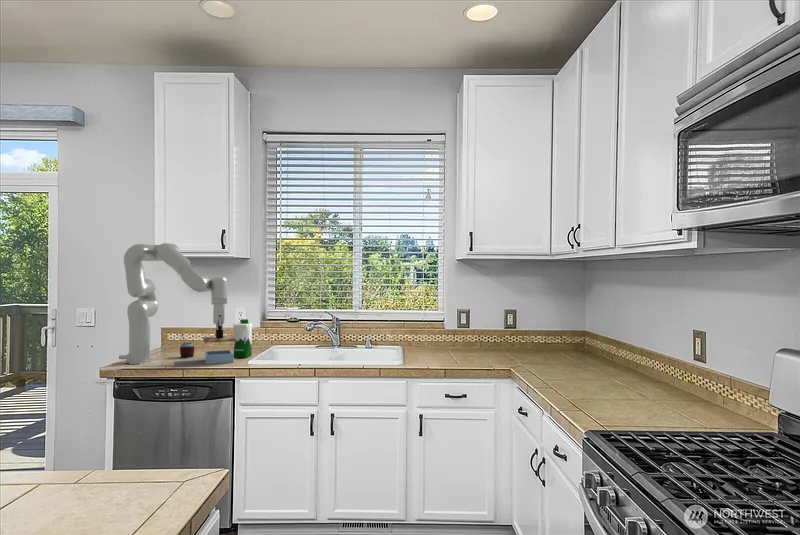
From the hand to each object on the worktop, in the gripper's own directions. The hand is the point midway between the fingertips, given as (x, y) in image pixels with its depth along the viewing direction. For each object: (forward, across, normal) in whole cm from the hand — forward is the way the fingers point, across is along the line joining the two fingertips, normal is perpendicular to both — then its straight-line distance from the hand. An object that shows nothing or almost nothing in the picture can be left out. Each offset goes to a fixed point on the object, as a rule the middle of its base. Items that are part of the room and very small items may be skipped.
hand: (219, 337), depth 261 cm
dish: (+13, 0, 0) cm, 13 cm away
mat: (+13, -1, -14) cm, 19 cm away
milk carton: (+13, -12, +13) cm, 22 cm away
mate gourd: (+13, -19, -15) cm, 28 cm away
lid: (+1, 0, 0) cm, 1 cm away
